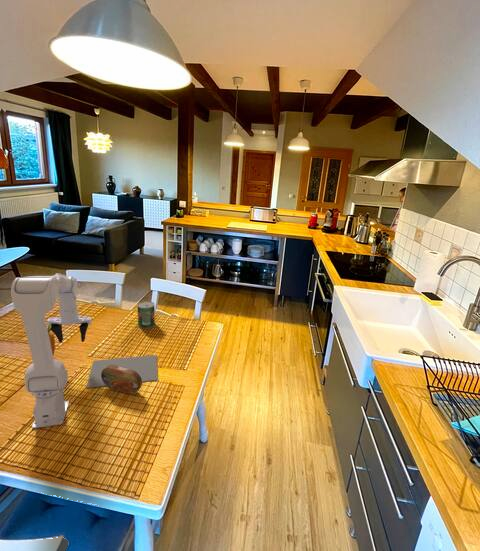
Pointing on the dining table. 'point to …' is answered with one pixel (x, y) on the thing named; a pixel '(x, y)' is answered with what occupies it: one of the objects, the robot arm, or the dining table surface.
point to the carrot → (51, 339)
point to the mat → (140, 364)
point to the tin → (121, 379)
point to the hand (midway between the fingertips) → (72, 340)
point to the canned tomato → (146, 314)
